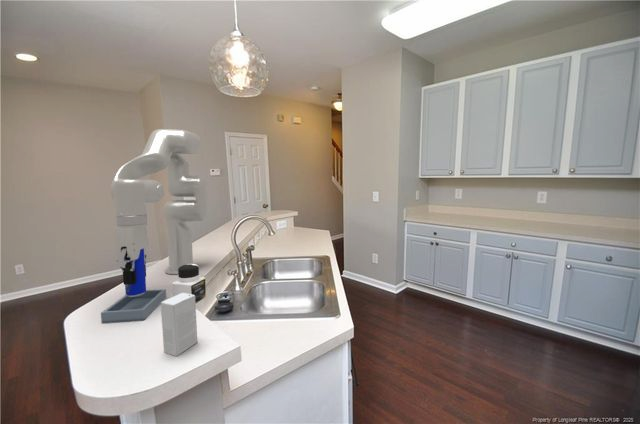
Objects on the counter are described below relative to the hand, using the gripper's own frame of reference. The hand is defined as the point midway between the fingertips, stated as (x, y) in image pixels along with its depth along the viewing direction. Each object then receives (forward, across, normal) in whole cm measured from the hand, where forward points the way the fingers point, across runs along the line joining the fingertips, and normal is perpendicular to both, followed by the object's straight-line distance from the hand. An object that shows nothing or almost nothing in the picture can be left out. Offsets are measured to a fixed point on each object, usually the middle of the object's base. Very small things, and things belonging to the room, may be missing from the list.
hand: (135, 280), depth 81 cm
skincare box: (+10, +23, +20) cm, 32 cm away
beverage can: (+5, 0, 0) cm, 5 cm away
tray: (+9, 0, 0) cm, 9 cm away
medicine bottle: (+9, -4, +14) cm, 17 cm away
